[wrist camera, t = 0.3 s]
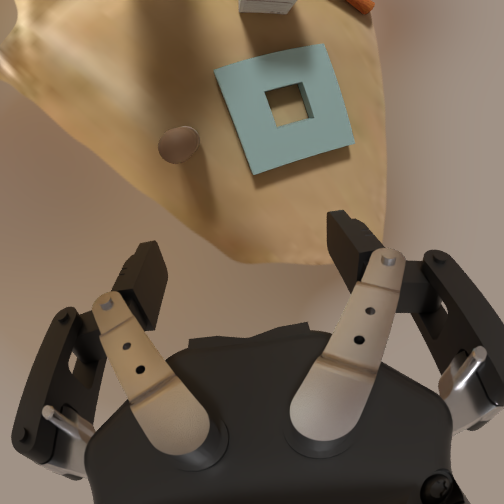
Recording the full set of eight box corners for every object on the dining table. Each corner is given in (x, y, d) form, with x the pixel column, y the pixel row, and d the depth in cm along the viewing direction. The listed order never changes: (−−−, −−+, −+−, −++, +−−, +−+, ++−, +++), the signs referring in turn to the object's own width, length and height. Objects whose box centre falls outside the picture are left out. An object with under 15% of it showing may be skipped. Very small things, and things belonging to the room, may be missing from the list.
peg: (168, 133, 35) (152, 137, 26) (195, 121, 34) (186, 121, 25) (179, 157, 36) (166, 169, 28) (205, 147, 36) (200, 155, 27)
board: (213, 73, 31) (213, 69, 29) (317, 47, 30) (323, 43, 28) (251, 172, 39) (253, 175, 37) (347, 141, 38) (355, 143, 36)
